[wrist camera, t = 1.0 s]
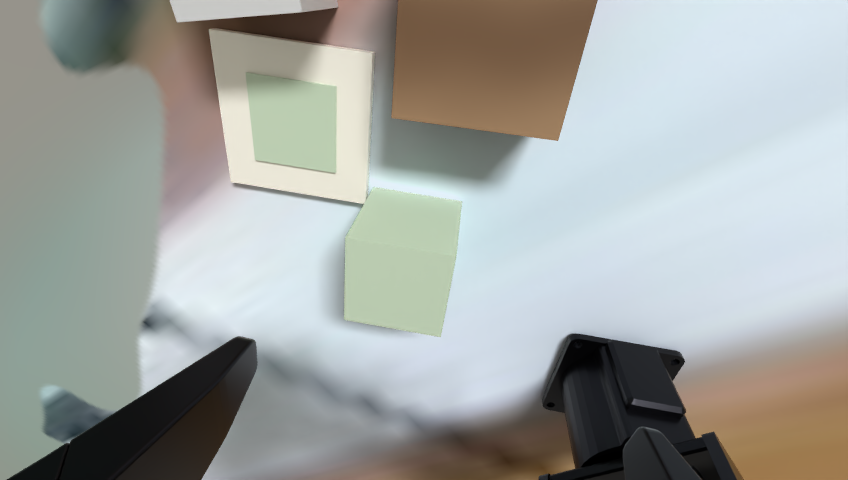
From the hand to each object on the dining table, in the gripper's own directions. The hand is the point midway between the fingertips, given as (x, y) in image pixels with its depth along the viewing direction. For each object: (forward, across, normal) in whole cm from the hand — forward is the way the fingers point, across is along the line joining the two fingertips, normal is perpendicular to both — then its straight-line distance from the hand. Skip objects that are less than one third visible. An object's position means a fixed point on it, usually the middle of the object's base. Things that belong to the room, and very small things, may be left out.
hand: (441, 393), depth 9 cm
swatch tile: (+12, +8, -1) cm, 15 cm away
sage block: (+12, +2, +3) cm, 13 cm away
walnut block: (+12, +1, -7) cm, 14 cm away
